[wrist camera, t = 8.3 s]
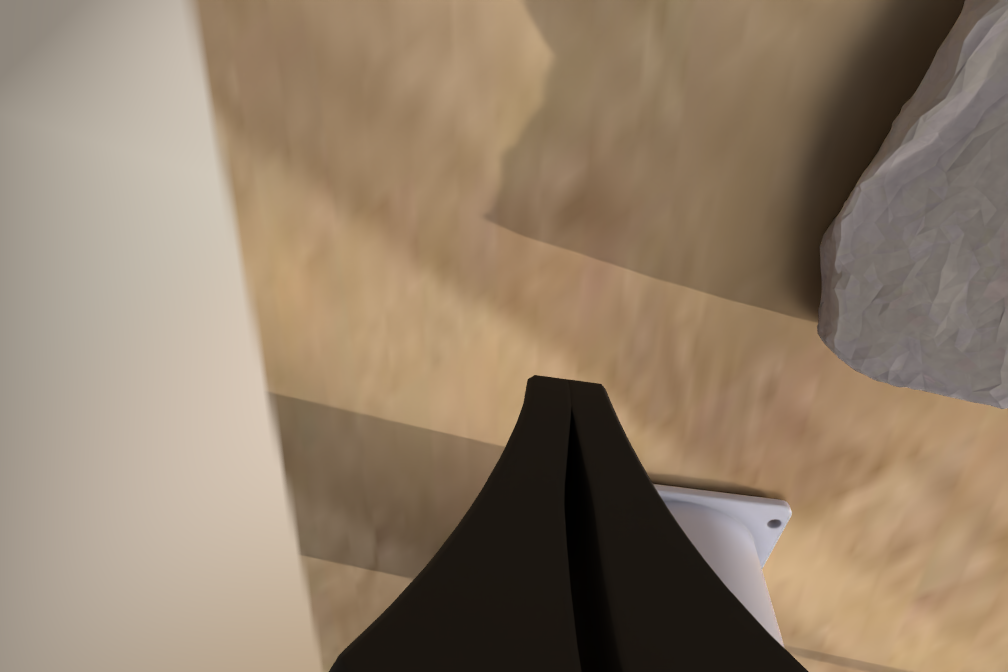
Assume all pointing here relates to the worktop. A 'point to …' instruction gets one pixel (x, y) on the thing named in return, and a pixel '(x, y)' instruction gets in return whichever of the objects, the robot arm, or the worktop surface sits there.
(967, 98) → the grey rock
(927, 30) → the worktop surface
